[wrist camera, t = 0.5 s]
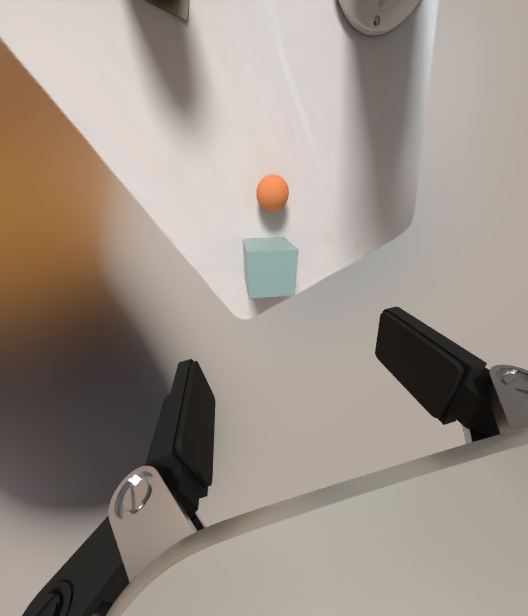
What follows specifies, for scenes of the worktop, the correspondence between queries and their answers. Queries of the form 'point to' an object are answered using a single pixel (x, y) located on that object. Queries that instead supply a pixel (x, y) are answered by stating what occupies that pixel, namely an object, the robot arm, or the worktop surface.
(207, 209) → the worktop surface
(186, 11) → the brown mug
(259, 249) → the mint green cube
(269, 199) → the ball
